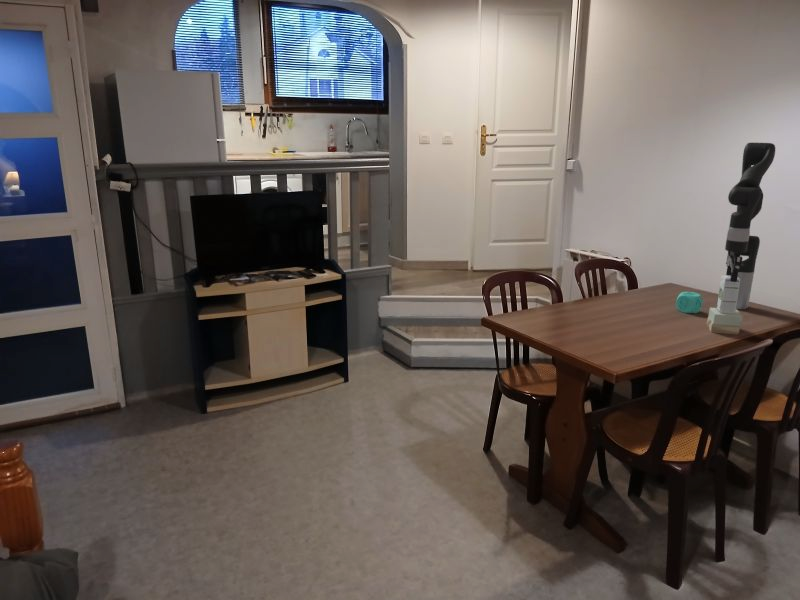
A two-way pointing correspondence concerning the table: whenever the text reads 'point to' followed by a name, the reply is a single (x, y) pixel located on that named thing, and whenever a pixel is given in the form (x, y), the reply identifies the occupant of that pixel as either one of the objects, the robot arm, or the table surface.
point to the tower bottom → (722, 328)
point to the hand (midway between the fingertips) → (731, 279)
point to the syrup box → (728, 295)
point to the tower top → (725, 317)
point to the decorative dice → (689, 302)
